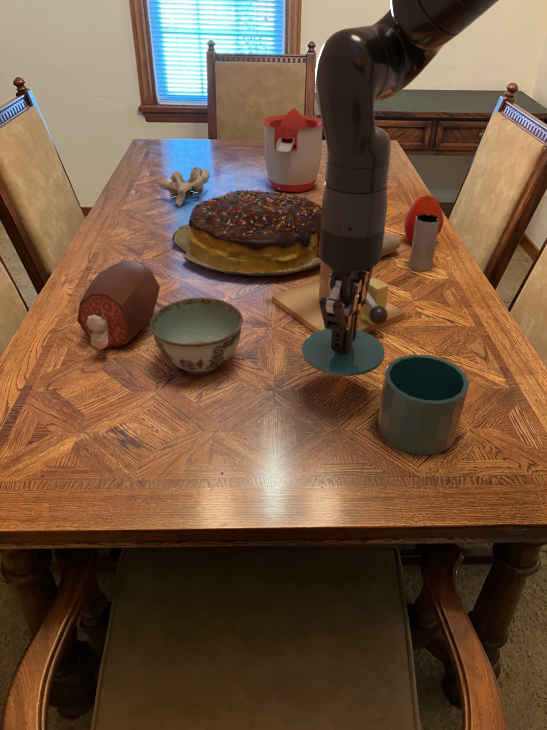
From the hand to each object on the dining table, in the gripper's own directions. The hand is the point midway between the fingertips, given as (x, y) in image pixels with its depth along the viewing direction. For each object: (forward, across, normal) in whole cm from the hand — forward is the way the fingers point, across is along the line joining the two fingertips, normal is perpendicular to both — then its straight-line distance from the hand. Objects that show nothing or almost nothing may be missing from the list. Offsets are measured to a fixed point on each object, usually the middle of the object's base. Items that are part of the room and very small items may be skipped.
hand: (343, 344), depth 77 cm
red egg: (+9, +59, +3) cm, 60 cm away
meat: (+9, +1, +39) cm, 40 cm away
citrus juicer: (+8, +80, +44) cm, 92 cm away
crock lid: (+1, 0, 0) cm, 1 cm away
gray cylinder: (+9, +47, 0) cm, 48 cm away
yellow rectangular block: (+8, +22, +2) cm, 24 cm away
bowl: (+9, -2, +22) cm, 24 cm away
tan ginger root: (+8, +59, +65) cm, 88 cm away
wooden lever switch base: (+9, +23, +9) cm, 26 cm away
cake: (+9, +42, +34) cm, 55 cm away
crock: (+9, -2, -12) cm, 15 cm away
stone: (+9, +47, +10) cm, 49 cm away
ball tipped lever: (+3, +21, +5) cm, 22 cm away
